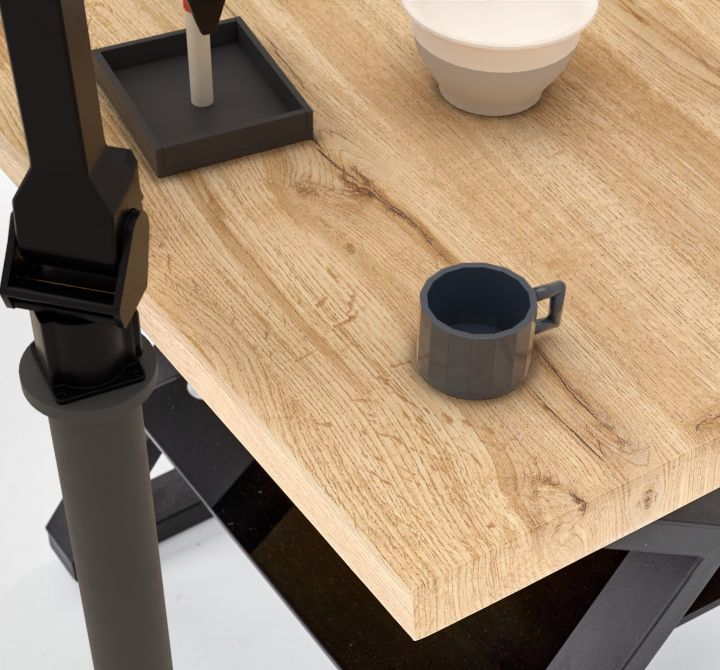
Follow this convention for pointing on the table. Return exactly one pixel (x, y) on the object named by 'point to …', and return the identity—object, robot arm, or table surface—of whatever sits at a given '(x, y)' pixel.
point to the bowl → (497, 48)
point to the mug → (481, 328)
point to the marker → (198, 62)
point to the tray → (202, 124)
